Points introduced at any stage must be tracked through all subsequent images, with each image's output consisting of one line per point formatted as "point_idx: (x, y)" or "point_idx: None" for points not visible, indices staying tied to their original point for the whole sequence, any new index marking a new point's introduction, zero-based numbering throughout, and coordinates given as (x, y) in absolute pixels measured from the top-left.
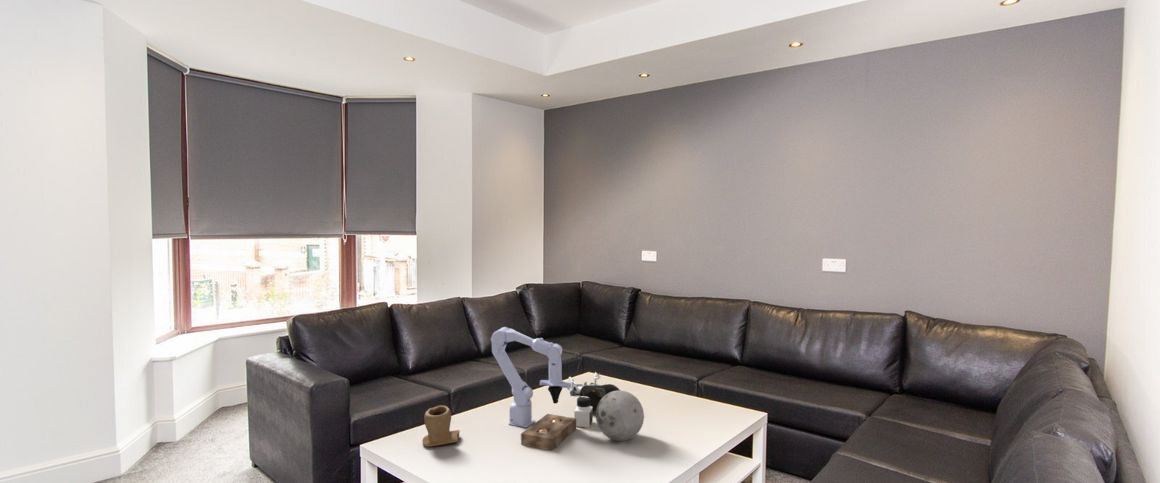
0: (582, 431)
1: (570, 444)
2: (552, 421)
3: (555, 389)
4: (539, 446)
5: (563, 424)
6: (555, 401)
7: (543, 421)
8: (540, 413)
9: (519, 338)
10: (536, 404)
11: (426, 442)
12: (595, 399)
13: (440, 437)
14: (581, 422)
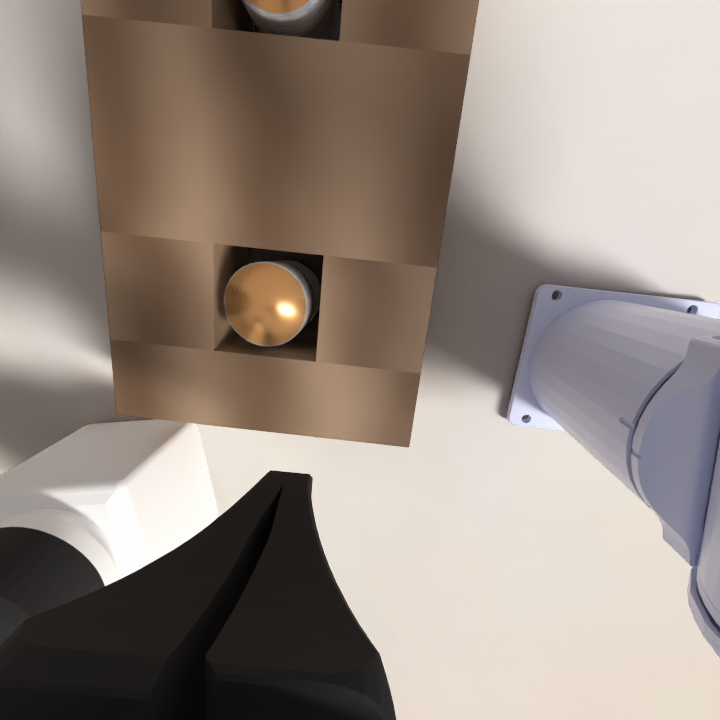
0: (103, 348)
1: (63, 57)
2: (286, 268)
3: (52, 664)
4: None
5: (153, 231)
6: (263, 481)
7: (378, 246)
8: (512, 563)
9: None
10: (582, 685)
11: None
12: None
13: None
14: (122, 433)
